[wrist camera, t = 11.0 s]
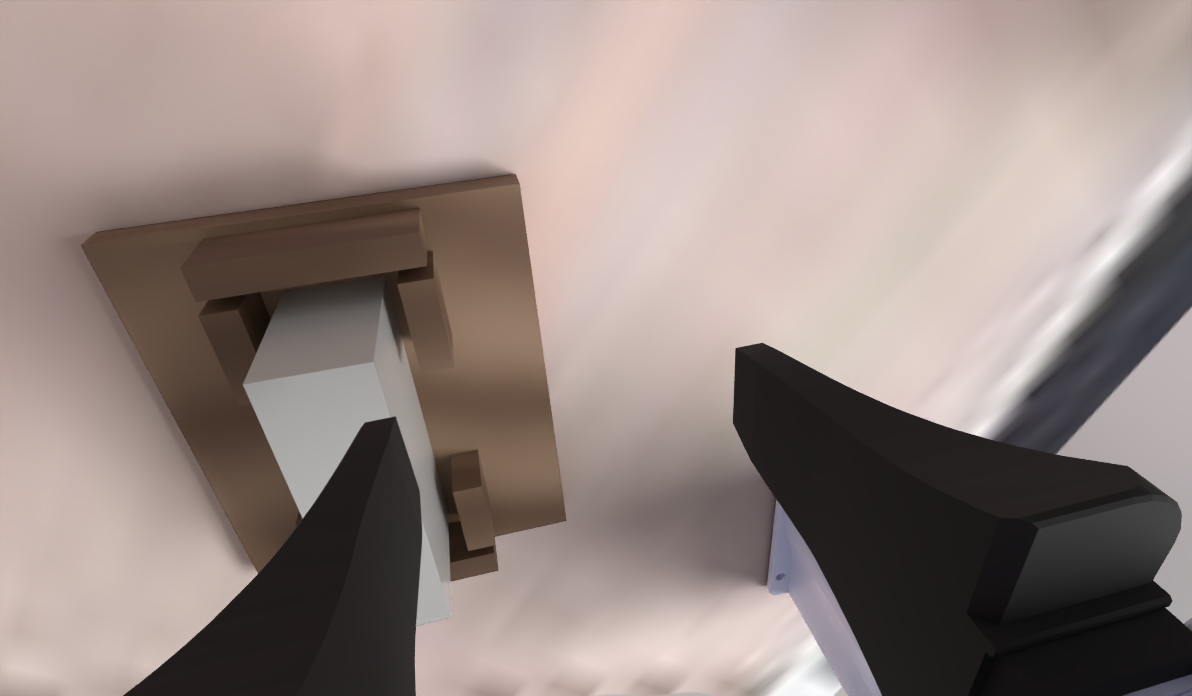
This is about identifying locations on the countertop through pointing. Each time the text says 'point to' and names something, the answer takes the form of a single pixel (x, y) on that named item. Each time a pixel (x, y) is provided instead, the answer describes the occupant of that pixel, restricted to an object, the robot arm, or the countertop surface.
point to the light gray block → (347, 405)
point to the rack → (427, 325)
